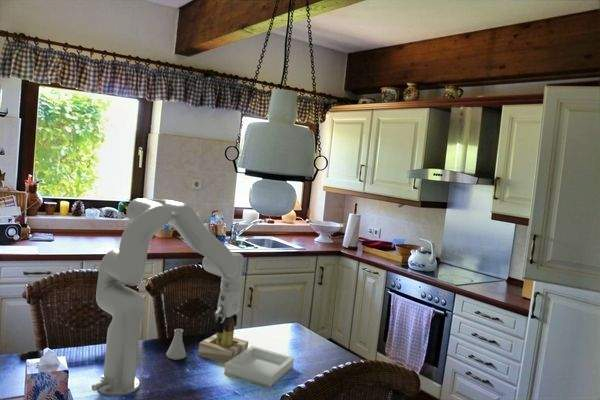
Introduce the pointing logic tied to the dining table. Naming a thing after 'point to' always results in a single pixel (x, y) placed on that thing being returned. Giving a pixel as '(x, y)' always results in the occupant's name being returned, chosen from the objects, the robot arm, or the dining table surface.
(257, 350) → the tray
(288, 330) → the dining table surface
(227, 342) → the sauce bottle
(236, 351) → the shallow rimmed box
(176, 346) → the flask
